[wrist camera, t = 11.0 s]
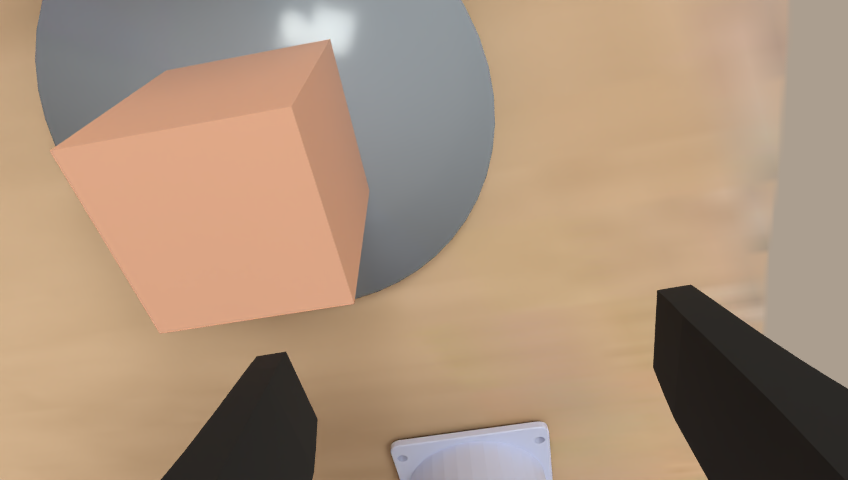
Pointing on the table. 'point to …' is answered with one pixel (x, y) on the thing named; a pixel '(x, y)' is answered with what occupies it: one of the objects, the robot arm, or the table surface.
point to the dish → (361, 80)
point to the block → (228, 188)
